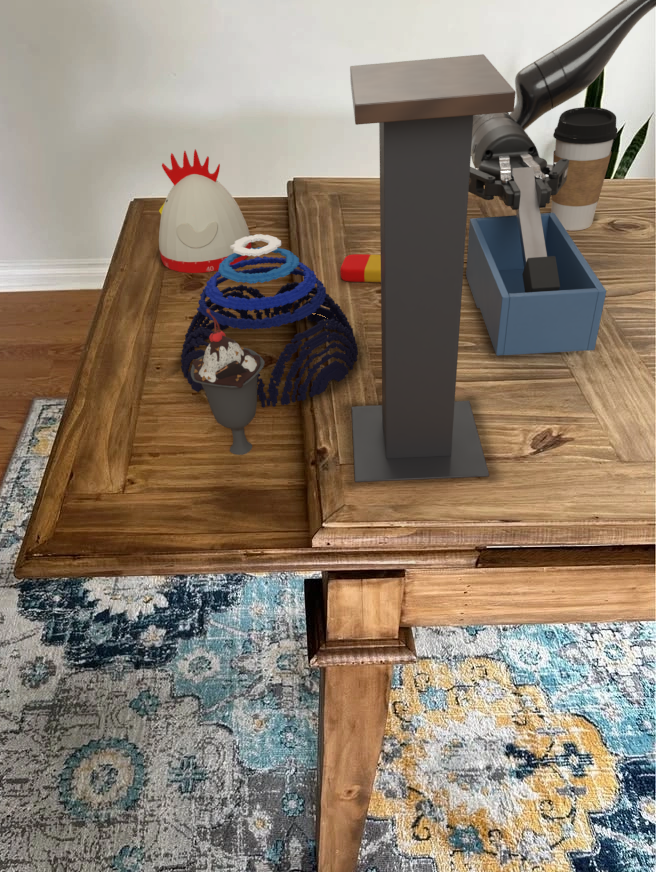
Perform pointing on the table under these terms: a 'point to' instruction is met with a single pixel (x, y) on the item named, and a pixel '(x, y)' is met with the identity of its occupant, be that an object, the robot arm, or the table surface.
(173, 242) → the kitchen timer
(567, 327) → the bin
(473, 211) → the table surface
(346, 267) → the popsicle
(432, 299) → the shelf stand
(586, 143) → the coffee cup
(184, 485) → the table surface
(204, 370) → the sundae
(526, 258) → the long rectangular bar
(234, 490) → the table surface
